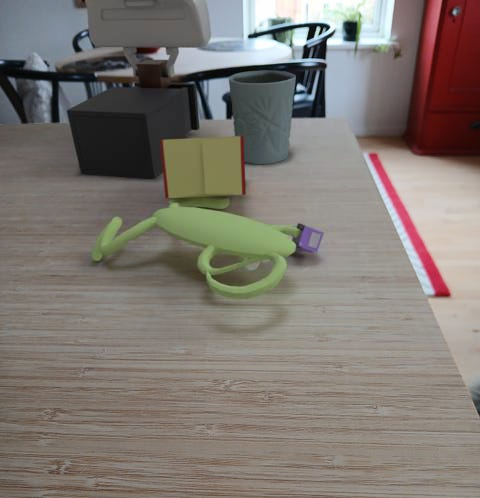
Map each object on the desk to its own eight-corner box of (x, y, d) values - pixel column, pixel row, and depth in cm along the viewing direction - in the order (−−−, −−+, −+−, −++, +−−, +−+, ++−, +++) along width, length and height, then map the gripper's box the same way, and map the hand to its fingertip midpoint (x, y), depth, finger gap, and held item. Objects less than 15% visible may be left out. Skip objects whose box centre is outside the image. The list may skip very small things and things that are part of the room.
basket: (152, 118, 101) (147, 76, 97) (207, 121, 99) (204, 77, 94) (110, 148, 87) (101, 100, 83) (173, 152, 85) (167, 102, 80)
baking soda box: (177, 186, 75) (165, 198, 60) (173, 139, 73) (159, 139, 58) (242, 183, 75) (245, 195, 60) (240, 136, 73) (243, 135, 58)
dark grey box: (121, 144, 92) (111, 86, 86) (187, 148, 89) (182, 88, 83) (80, 173, 81) (66, 110, 75) (154, 179, 78) (145, 113, 72)
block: (140, 89, 87) (136, 64, 85) (149, 84, 90) (146, 59, 88) (161, 90, 86) (158, 64, 84) (170, 85, 89) (167, 59, 87)
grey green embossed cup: (227, 165, 81) (223, 83, 74) (237, 144, 89) (234, 69, 82) (291, 166, 80) (293, 83, 73) (295, 145, 88) (297, 68, 81)
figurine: (196, 226, 72) (193, 186, 70) (363, 258, 54) (366, 205, 52) (78, 257, 60) (69, 209, 58) (243, 310, 42) (240, 244, 40)
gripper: (71, -18, 79) (90, 79, 87) (197, -22, 74) (204, 82, 82) (91, -21, 84) (107, 71, 92) (210, -25, 79) (216, 73, 87)
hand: (154, 76), depth 87 cm, fingers closed on block, 4 cm apart
